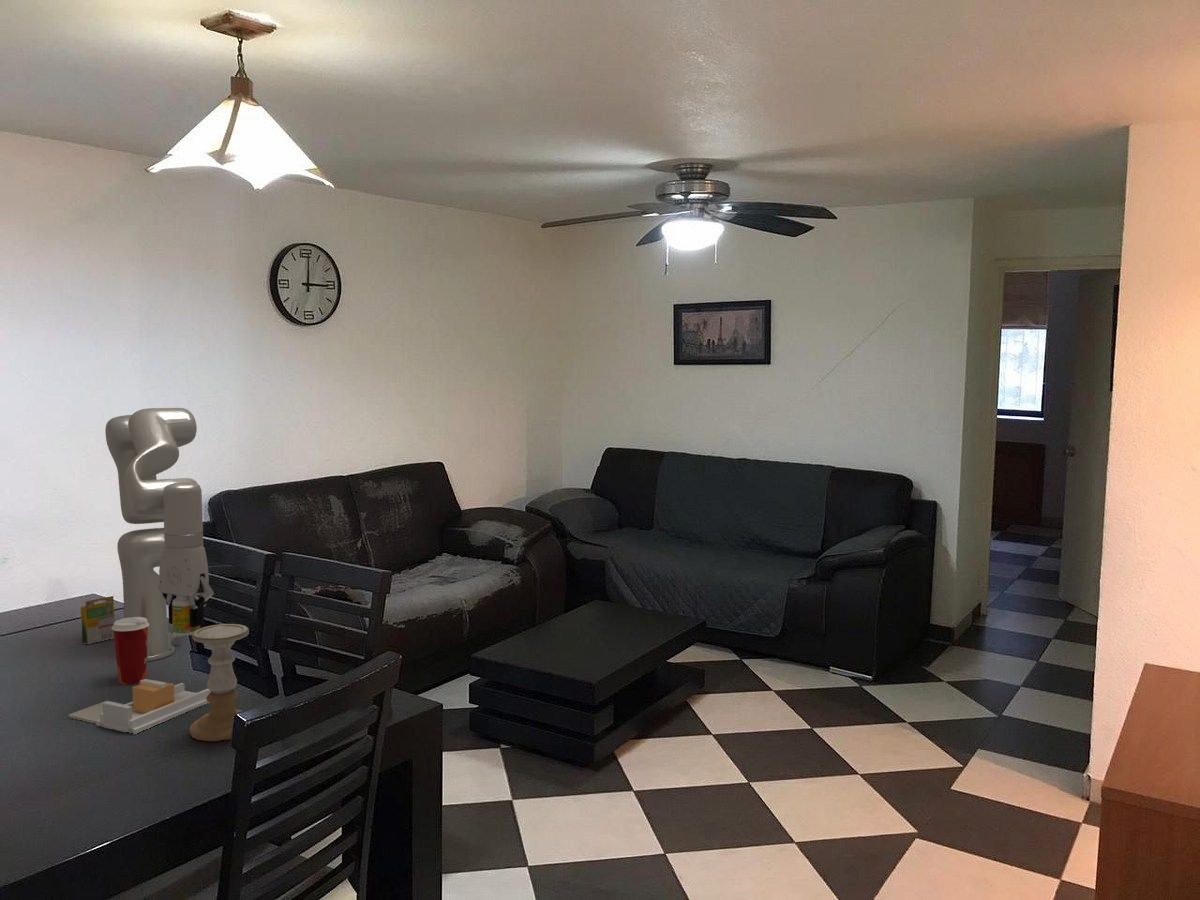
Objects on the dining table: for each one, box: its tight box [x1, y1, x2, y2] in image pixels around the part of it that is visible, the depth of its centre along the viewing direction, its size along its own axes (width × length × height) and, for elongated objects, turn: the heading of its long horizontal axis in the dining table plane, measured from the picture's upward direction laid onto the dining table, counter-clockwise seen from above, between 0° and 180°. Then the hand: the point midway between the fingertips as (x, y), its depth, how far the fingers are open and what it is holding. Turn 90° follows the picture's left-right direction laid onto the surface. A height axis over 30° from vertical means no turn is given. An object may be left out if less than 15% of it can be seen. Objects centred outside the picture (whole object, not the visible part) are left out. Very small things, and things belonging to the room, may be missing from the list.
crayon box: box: [80, 595, 116, 645], centre depth 240 cm, size 7×3×12 cm, turn 144°
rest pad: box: [67, 700, 124, 725], centre depth 190 cm, size 9×9×1 cm
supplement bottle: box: [172, 595, 201, 637], centre depth 196 cm, size 5×5×10 cm
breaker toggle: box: [131, 678, 175, 713], centre depth 189 cm, size 5×6×6 cm
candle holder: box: [188, 623, 250, 742], centre depth 181 cm, size 12×12×20 cm
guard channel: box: [95, 682, 211, 735], centre depth 191 cm, size 20×11×5 cm, turn 157°
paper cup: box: [112, 617, 149, 686], centre depth 210 cm, size 8×8×14 cm
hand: (186, 623), depth 197 cm, fingers closed on supplement bottle, 5 cm apart
